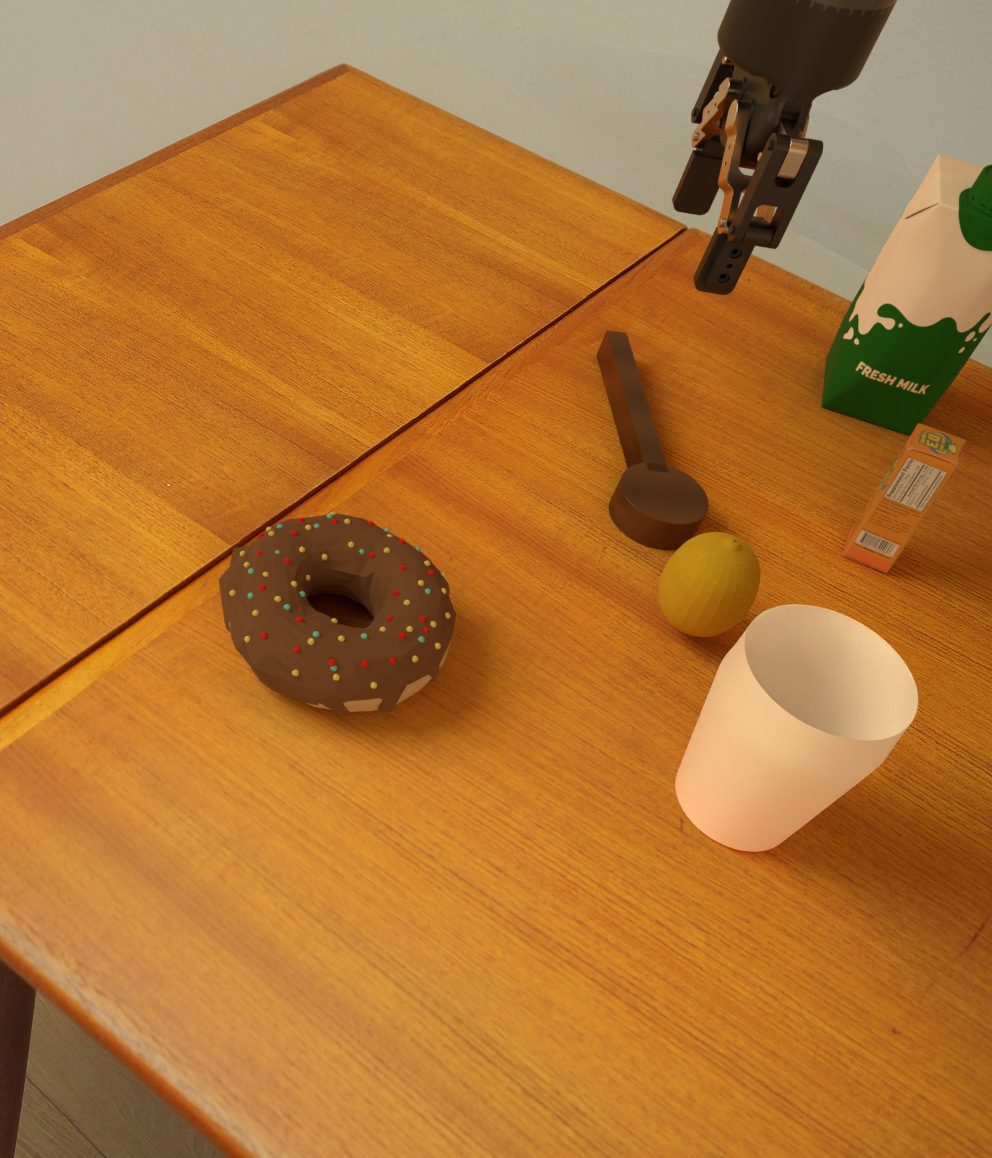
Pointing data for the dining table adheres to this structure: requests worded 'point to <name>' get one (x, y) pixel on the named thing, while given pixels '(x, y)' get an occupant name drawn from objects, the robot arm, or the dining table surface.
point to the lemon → (709, 584)
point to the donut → (316, 641)
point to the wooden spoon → (645, 460)
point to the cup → (792, 725)
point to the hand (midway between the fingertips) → (698, 248)
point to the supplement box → (903, 498)
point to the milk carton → (918, 303)
